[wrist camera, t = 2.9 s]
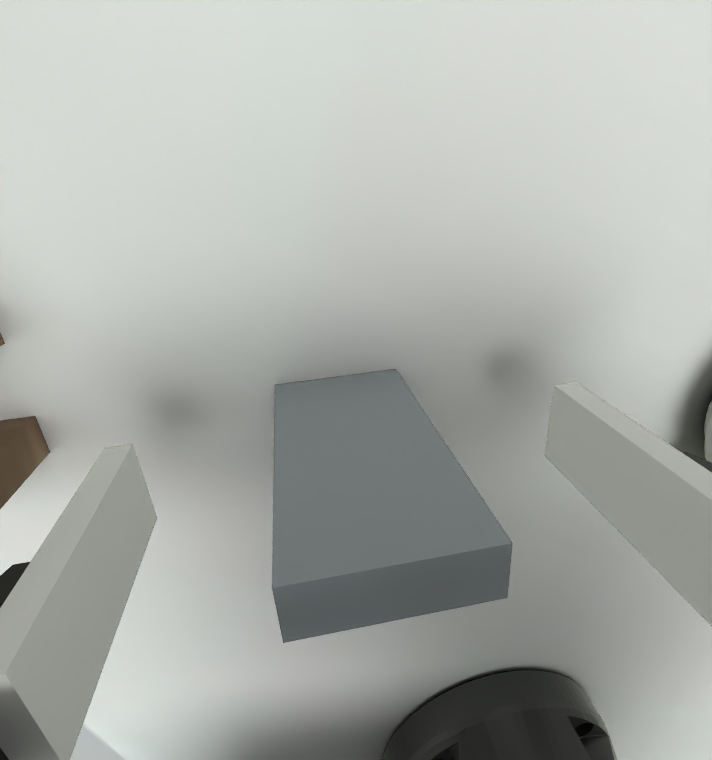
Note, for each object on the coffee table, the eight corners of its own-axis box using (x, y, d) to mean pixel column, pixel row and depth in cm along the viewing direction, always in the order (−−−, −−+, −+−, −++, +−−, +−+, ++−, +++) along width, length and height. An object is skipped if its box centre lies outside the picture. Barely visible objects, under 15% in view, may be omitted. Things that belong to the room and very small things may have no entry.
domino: (397, 403, 19) (507, 597, 10) (280, 419, 18) (283, 642, 9) (395, 369, 18) (512, 543, 9) (274, 384, 18) (271, 587, 9)
